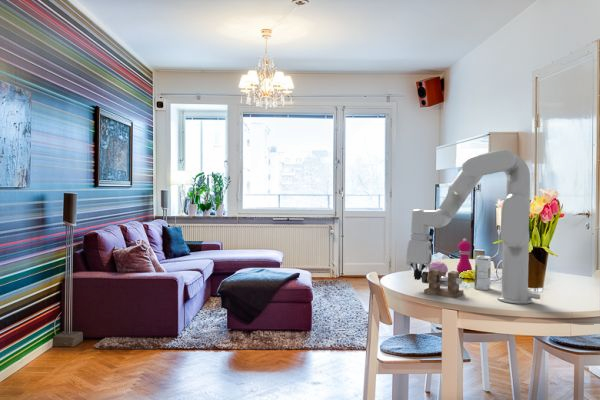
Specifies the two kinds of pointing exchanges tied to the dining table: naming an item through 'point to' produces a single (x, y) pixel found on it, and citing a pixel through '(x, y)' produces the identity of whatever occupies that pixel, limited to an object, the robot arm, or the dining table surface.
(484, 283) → the silver can
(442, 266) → the cupcake
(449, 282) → the bracket
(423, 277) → the shaft
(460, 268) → the pepper mill
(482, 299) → the dining table surface
